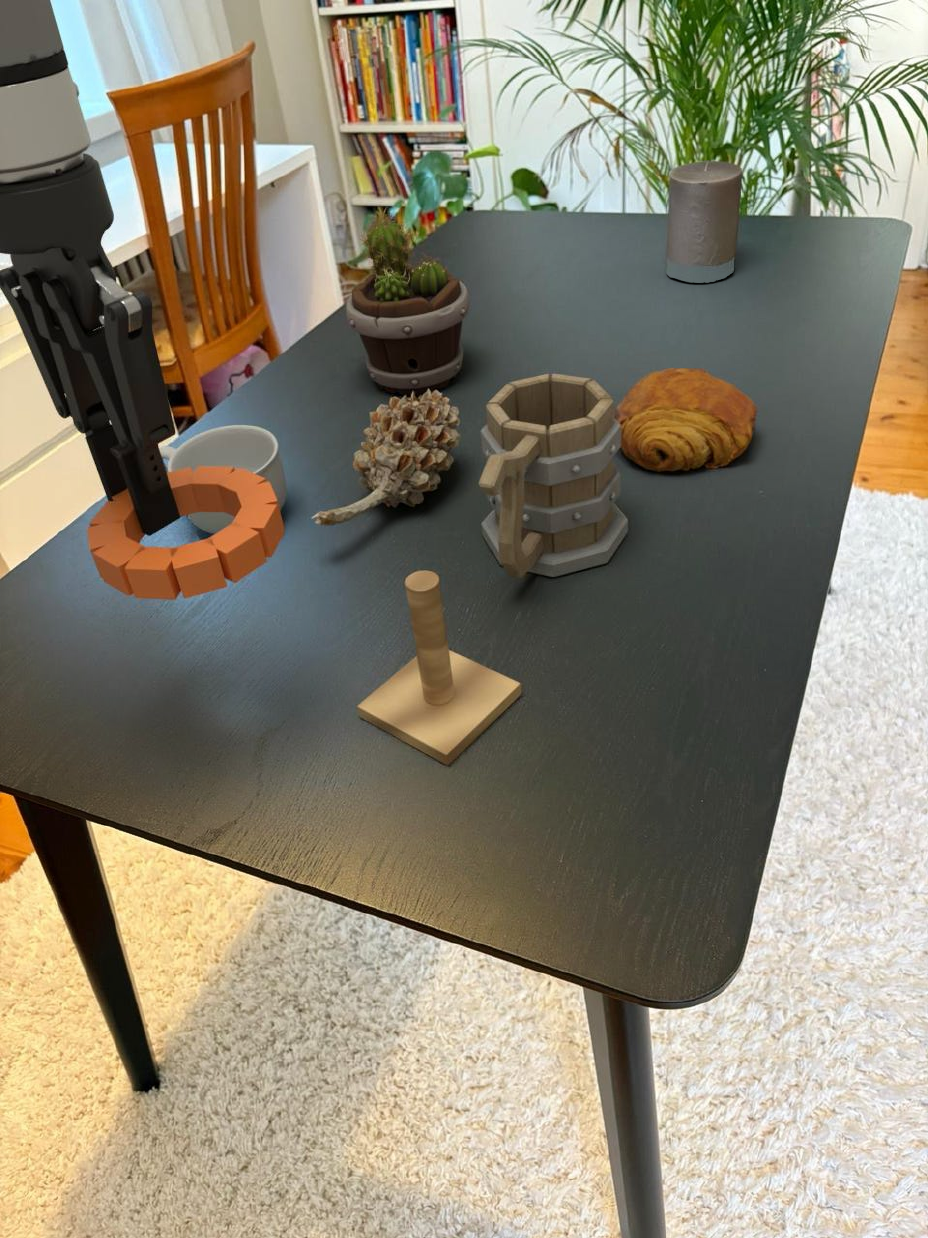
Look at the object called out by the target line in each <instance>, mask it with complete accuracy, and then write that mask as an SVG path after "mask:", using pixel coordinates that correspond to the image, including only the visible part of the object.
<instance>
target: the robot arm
mask: <svg viewBox="0 0 928 1238" xmlns="http://www.w3.org/2000/svg"><path fill="white" fill-rule="evenodd" d="M59 29H60V28H59V26H58V22H57V20H56V16H55V12H54V8H53V5H52V1H51V0H0V254H3V255H10V256H9V257H10V261H11V264H12V265H11V266H8V267H6V268H3V269H0V291H1V292H2V294H3V295H4V297H5V299H6V301H7V302H8V304H9V306H10V307H11V309H12V311H13V313H14V316H15V318H16V320H17V322H18V325H19V327H20V330H21V332H22V334H23V337H24V339H25V341H26V343H27V346H28V348H29V350H30V353H31V355H32V357H33V359H34V362H35V364H36V367H37V369H38V371H39V374H40V376H41V378H42V380H43V383H44V385H45V388H46V389H47V392H48V394H49V397H50V399H51V401H52V403H53V407H54V408H55V410H56V413H57V414H58V415H59V416H60V417H61V418H62V419H68V418H69V417H71V419H72V422H73V425H74V427H75V429H77V431H78V432H79V433H80V434H84V435H85V437H84V439H85V441H86V444H87V446H88V450H89V452H90V455H91V457H92V459H93V463H94V466H95V468H96V471H97V474H98V476H99V477H98V478H99V479H100V482H101V485H102V488H103V491H104V494H105V495H106V498H107V501H113V498H112V497H113V496H115V495H117V494H118V493H120V492H122V491H124V490H126V489H128V491H129V494H130V497H131V500H132V503H133V506H134V509H135V512H136V514H137V517H138V520H139V523H140V526H141V529H142V532H143V533H144V534H145V535H146V536H148V537H151V536H152V535H154V534H156V533H158V532H159V531H162V530H163V529H164V528H166V527H167V526H169V525H171V524H173V523H174V522H176V521H178V520H179V519H181V517H182V516H181V517H180V514H179V511H178V508H177V505H176V502H175V498H174V495H173V492H172V489H171V486H170V483H169V479H168V475H167V472H166V469H165V466H164V463H165V462H164V463H163V461H164V459H163V460H162V456H161V453H160V450H159V448H160V446H159V444H161V443H163V442H164V441H166V440H168V439H170V438H171V437H174V436H175V435H176V433H177V432H176V426H175V423H174V419H173V418H174V417H173V414H172V409H171V405H170V401H169V397H168V396H169V395H168V393H167V387H166V383H165V379H164V375H163V371H162V365H161V362H160V357H159V353H158V349H157V345H156V341H155V335H154V331H153V302H152V299H151V297H150V296H149V294H148V293H147V292H146V291H145V290H139V291H135V292H134V293H131V294H130V293H129V292H127V290H126V289H124V287H122V286H121V285H120V284H119V283H118V282H117V275H116V271H115V269H114V266H113V265H112V263H111V261H110V260H109V257H108V256H107V254H106V252H105V249H104V247H103V245H102V239H103V236H104V234H105V232H106V231H107V230H109V229H110V228H111V227H112V225H113V223H114V221H115V213H114V210H113V206H112V204H111V203H112V202H111V200H110V197H109V193H108V190H107V187H106V183H105V180H104V176H103V173H102V170H101V169H102V168H101V166H100V163H99V161H98V160H96V159H95V158H94V157H93V156H92V155H90V154H88V153H85V152H86V151H87V150H88V148H89V147H90V145H91V143H92V139H91V136H90V132H89V130H88V126H87V122H86V119H85V116H84V113H83V110H82V106H81V103H80V100H79V97H80V96H79V95H80V91H79V86H78V85H77V83H75V82H74V81H73V80H74V79H73V77H72V74H71V70H70V68H69V61H68V57H67V54H66V51H65V46H64V44H63V39H62V37H61V34H60V33H61V32H60V30H59Z"/></svg>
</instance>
